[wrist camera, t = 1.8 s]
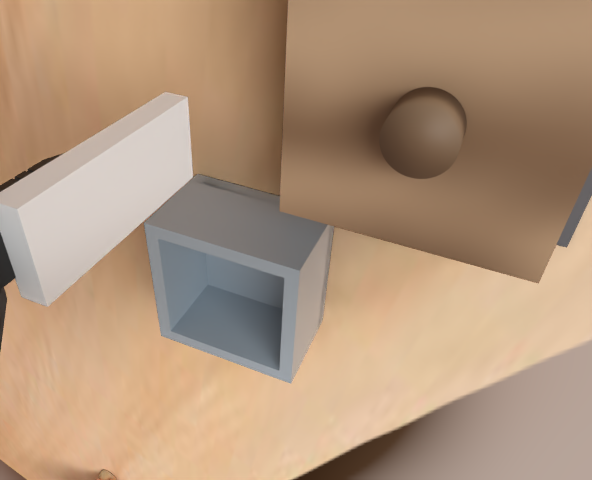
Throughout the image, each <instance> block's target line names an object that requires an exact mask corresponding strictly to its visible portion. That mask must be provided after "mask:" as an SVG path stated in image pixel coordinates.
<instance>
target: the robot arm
mask: <svg viewBox="0 0 592 480" xmlns="http://www.w3.org/2000/svg"><path fill="white" fill-rule="evenodd" d="M192 178H193V168H192V153H191V138H190V123H189V108H188V97H186V96H182V95H177V94H173V93H169V92H164V93H163V94H161V95H159V96H158V97H156V98H154V99H153V100H151V101H149V102H148V103H146V104H145V105H143V106H141V107H140V108H138V109H136V110H135V111H133V112H131V113H130V114H128V115H126V116H125V117H123V118H121V119H120V120H118V121H117V122H115V123H113V124H112V125H110V126H108V127H107V128H105V129H103V130H102V131H100V132H98V133H97V134H95V135H93V136H92V137H90V138H89V139H87V140H85V141H84V142H82V143H80V144H79V145H77V146H75V147H74V148H72V149H70V150H69V151H67V152H65V153H63V154H60V155H57V156H54V157H51V158H48V159H44V160H42V161H41V162H39V163H37V164H36V165H34V166H32V167H31V168H29V169H28V171H27V172H26V171H24V172H22V173H21V174H19V175H17V176H15V179H10V180H9V181H7V182H5V183H4V184H2V185H0V350H1V342H2V334H3V326H4V318H5V310H6V303H7V297H6V293H5V290H4V286H6V285H7V284H8V283H9V282H11V281H12V280H13V279H14V278H15V280H16V283H17V286H18V288H19V291H20V294H21V297H23V298H25V299H28V300H31V301H33V302H36V303H39V304H41V305H44V306H47V307H48V306H49V305H50V304H51V303H52V302H53V301H55V300H56V299H57V298H58V297H59V296H60V295H61V294H62V293H64V292H65V291H66V290H67V289H68V288H69V287H70V286H71V285H73V284H74V283H75V282H76V281H77V280H78V279H79V278H80V277H82V276H83V275H84V274H85V273H86V272H87V271H88V270H89V269H91V268H92V267H93V266H94V265H95V264H96V263H97V262H98V261H100V260H101V259H102V258H103V257H104V256H105V255H106V254H107V253H109V252H110V251H111V250H112V249H113V248H114V247H115V246H116V245H118V244H119V243H120V242H121V241H122V240H123V239H124V238H125V237H126V236H128V235H129V234H130V233H131V232H132V231H133V230H134V229H135V228H137V227H138V226H139V225H140V224H141V223H142V222H143V221H144V220H146V219H147V218H148V217H149V216H150V215H151V214H152V213H153V212H155V211H156V210H157V209H158V208H159V207H160V206H161V205H162V204H164V203H165V202H166V201H167V200H168V199H169V198H170V197H171V196H173V195H174V194H175V193H176V192H177V191H178V190H179V189H180V188H182V187H183V186H184V185H185V184H186V183H187V182H188V181H189V180H191V179H192Z"/></svg>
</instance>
